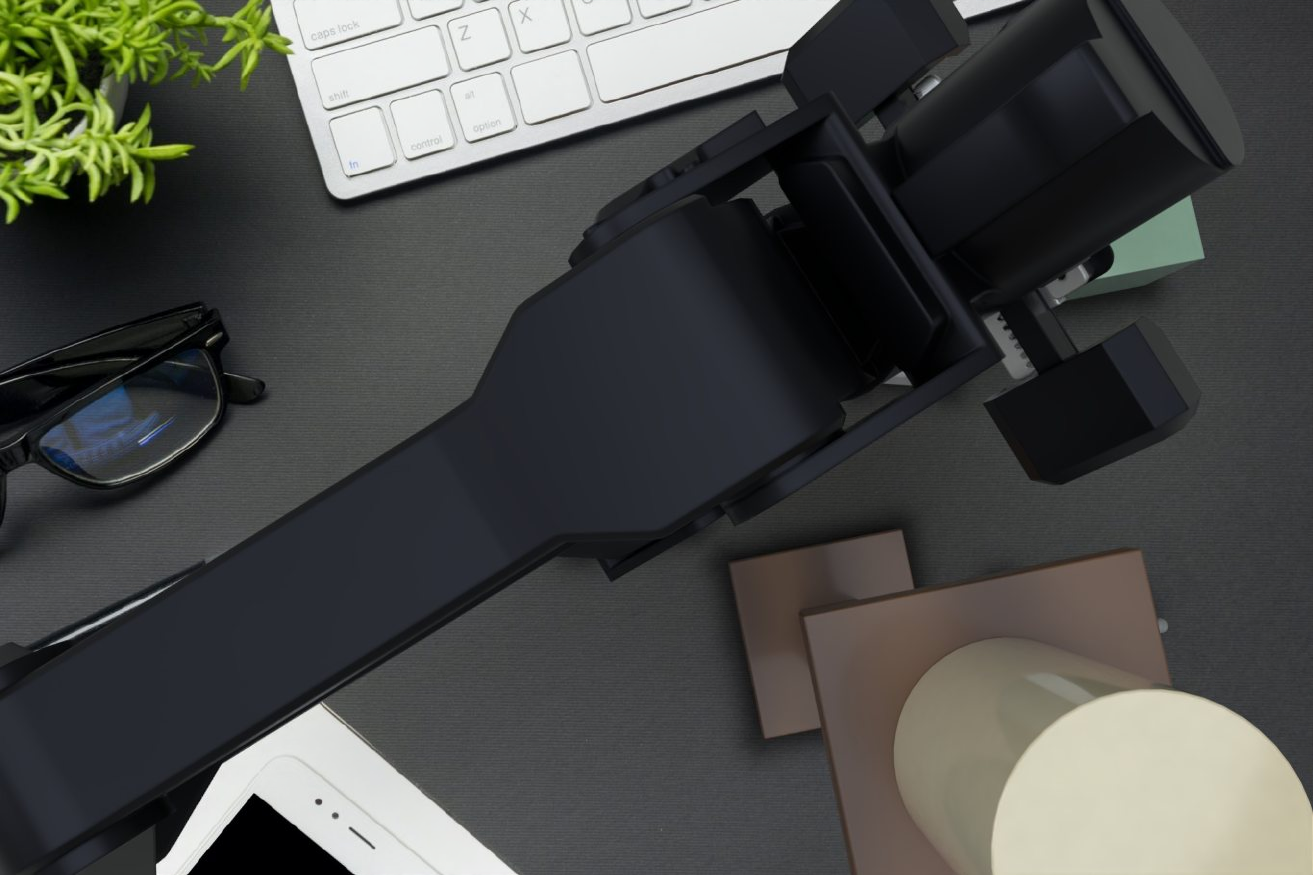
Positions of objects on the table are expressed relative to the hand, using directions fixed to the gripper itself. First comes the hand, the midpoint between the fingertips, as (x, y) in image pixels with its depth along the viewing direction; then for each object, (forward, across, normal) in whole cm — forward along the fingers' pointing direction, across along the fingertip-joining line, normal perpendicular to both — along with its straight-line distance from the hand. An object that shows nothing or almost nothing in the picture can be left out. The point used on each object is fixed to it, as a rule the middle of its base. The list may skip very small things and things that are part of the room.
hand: (1058, 193), depth 44 cm
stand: (-3, -13, +20) cm, 24 cm away
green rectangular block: (+11, -1, +6) cm, 13 cm away
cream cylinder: (-23, -13, 0) cm, 26 cm away
